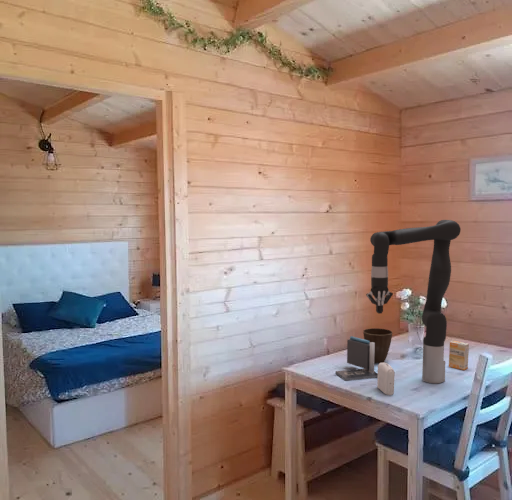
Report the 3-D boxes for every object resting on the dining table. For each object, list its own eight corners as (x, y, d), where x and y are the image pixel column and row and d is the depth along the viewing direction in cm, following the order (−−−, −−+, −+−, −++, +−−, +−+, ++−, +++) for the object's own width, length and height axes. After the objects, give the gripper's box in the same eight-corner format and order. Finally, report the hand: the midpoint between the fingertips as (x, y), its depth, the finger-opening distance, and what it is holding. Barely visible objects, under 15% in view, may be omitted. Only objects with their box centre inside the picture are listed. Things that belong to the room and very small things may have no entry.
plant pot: (366, 365, 262) (367, 335, 260) (359, 357, 277) (360, 328, 275) (395, 365, 262) (396, 334, 261) (387, 357, 277) (387, 328, 276)
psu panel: (368, 370, 254) (368, 367, 254) (380, 377, 244) (380, 374, 244) (335, 373, 249) (335, 370, 249) (345, 380, 239) (345, 377, 239)
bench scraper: (376, 370, 249) (376, 341, 248) (370, 372, 246) (371, 342, 245) (352, 363, 261) (352, 335, 259) (347, 364, 258) (347, 336, 257)
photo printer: (395, 394, 221) (396, 366, 220) (386, 395, 220) (386, 367, 219) (384, 386, 231) (385, 360, 230) (376, 387, 230) (376, 360, 229)
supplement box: (448, 367, 260) (449, 341, 259) (452, 365, 263) (453, 340, 262) (464, 370, 254) (465, 344, 253) (468, 368, 257) (469, 343, 256)
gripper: (388, 274, 240) (388, 310, 241) (362, 275, 236) (362, 312, 238) (396, 276, 233) (396, 313, 234) (370, 277, 229) (370, 315, 231)
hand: (379, 313), depth 236 cm, fingers closed
